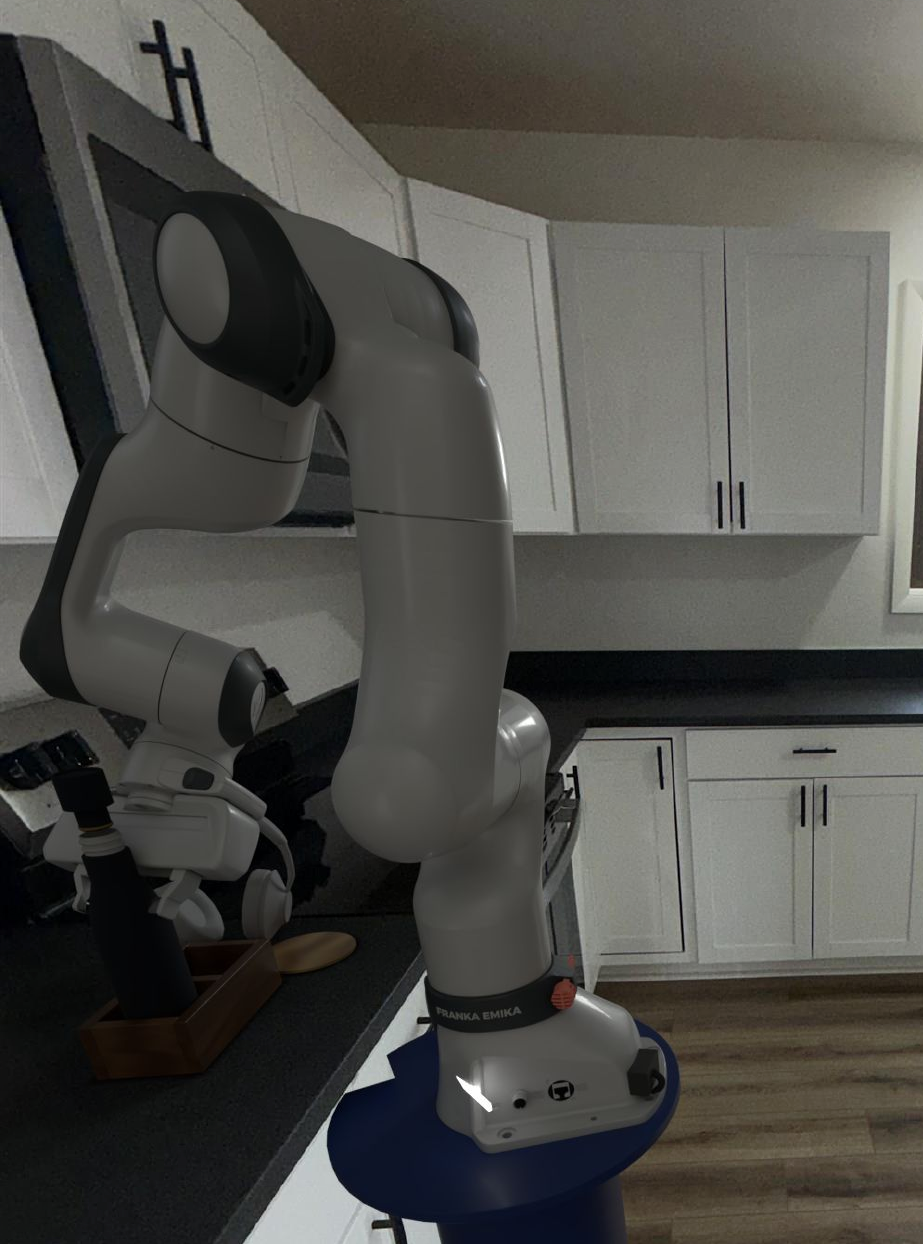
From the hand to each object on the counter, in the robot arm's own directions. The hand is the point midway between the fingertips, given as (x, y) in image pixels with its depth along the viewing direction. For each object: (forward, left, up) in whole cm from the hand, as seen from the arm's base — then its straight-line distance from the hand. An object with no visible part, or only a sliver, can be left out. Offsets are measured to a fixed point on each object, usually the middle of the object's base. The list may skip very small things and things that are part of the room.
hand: (122, 914), depth 83 cm
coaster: (-5, -22, -16) cm, 28 cm away
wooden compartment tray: (0, -5, -16) cm, 17 cm away
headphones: (+6, -26, -16) cm, 31 cm away
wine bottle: (0, -1, -16) cm, 16 cm away
